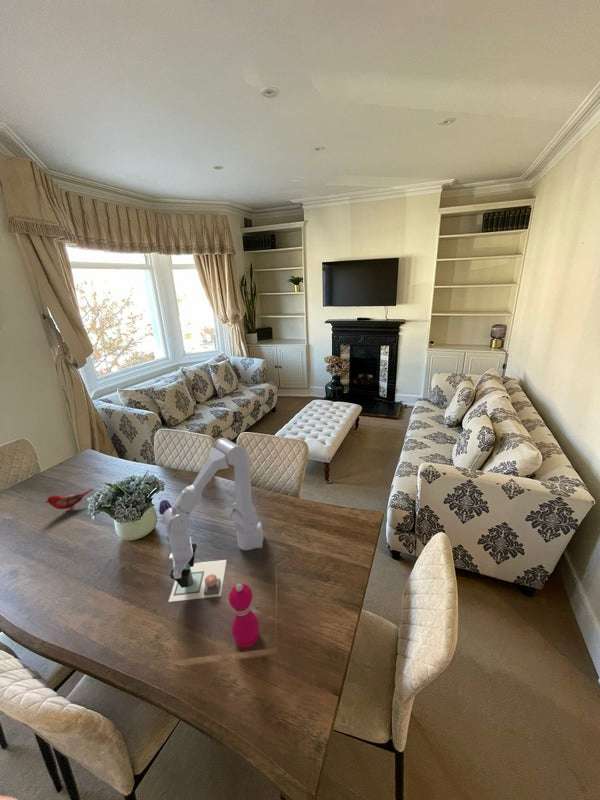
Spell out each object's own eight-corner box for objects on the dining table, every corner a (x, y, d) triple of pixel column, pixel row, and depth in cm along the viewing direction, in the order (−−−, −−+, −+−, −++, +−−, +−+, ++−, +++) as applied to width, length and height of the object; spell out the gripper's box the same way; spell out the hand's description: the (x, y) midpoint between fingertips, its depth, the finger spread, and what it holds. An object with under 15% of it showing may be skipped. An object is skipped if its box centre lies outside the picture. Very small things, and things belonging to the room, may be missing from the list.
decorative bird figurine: (50, 516, 142) (43, 497, 139) (96, 498, 153) (90, 480, 149) (51, 519, 140) (43, 500, 137) (97, 501, 151) (91, 482, 147)
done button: (218, 580, 105) (217, 573, 104) (216, 589, 102) (215, 583, 101) (207, 581, 105) (206, 575, 104) (205, 591, 101) (203, 584, 100)
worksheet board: (226, 561, 114) (226, 556, 114) (221, 598, 101) (220, 592, 101) (180, 566, 114) (179, 561, 113) (169, 604, 100) (167, 598, 100)
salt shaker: (194, 578, 107) (190, 562, 105) (192, 586, 105) (188, 570, 102) (185, 579, 107) (181, 563, 105) (183, 587, 105) (178, 571, 102)
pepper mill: (235, 626, 93) (226, 574, 86) (260, 623, 93) (253, 571, 86) (232, 653, 86) (222, 599, 79) (259, 650, 87) (252, 596, 80)
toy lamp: (174, 542, 124) (166, 506, 119) (163, 540, 125) (154, 505, 120) (181, 533, 129) (173, 498, 123) (170, 531, 130) (162, 497, 124)
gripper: (173, 527, 107) (181, 559, 111) (159, 563, 93) (168, 597, 98) (195, 525, 107) (201, 556, 112) (184, 561, 94) (192, 595, 98)
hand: (187, 575), depth 105 cm, fingers open, 7 cm apart
